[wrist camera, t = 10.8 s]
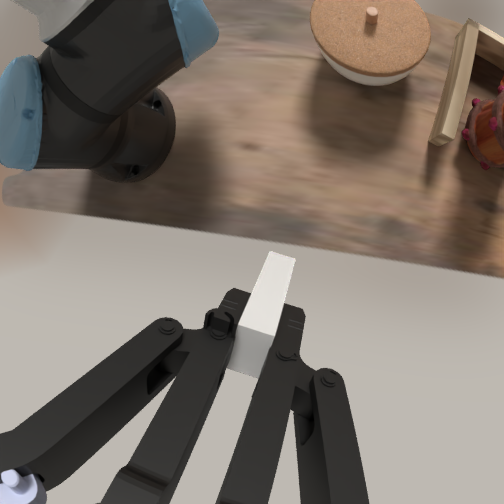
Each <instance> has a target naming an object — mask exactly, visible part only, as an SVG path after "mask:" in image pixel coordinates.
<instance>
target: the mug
mask: <svg viewBox="0 0 504 504" xmlns="http://www.w3.org/2000/svg"><path fill="white" fill-rule="evenodd" d="M472 106H473V108H472V110H471V111H470V113H469V115H468V118H467V122H466V127H465V129H464V130H463V131H462V136H463V137H464V138H465V139H466V140H467V145H468V147H469V149H470V151H471V153H472V155H473V156H474V157H475V158H476V159H477V160H478V161H480V162H481V167H482V168H483V169H485V170H487V169H488V168H489V167H497V168H502V167H504V76H503V78H502V80H501V82H500V86H499V87H498V96H497V97H496V99H488V100H484V101H480V100H479V99H477V98H475V99H473V100H472Z"/></svg>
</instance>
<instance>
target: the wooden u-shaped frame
mask: <svg viewBox="0 0 504 504" xmlns="http://www.w3.org/2000/svg"><path fill="white" fill-rule="evenodd" d="M475 54H477V55H478V56H480V57H482V58H484V59H485V60H487V61H489V62H490V63H492V64H494V65H495V66H497V67H498V68H500V69H502V70H503V71H504V38H502V37H501V36H499V35H497V34H496V33H494V32H492V31H491V30H489V29H487V28H486V27H484V26H482V25H480V24H478V23H476V22H475V21H473V20H471V19H469V18H468V20H467V21H466V23H465V24H464V26H463V27H462V29H461V30H460V32H459V33H458V35H457V36H456V39H455V44H454V48H453V53H452V57H451V62H450V66H449V70H448V74H447V78H446V82H445V86H444V90H443V93H442V97H441V101H440V104H439V108H438V111H437V115H436V118H435V121H434V125H433V128H432V131H431V134H430V137H429V140H428V141H429V142H431V143H433V144H435V145H437V146H438V147H439V146H441V145H443V144H445V143H448V142H450V141H452V140H454V138H455V134H456V131H457V127H458V124H459V120H460V117H461V113H462V109H463V105H464V101H465V97H466V93H467V89H468V85H469V80H470V75H471V71H472V66H473V61H474V55H475Z"/></svg>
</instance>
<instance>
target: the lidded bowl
mask: <svg viewBox="0 0 504 504" xmlns="http://www.w3.org/2000/svg"><path fill="white" fill-rule="evenodd" d="M310 24H311V30H312V33H313V35H314V38H315V40H316V42H317V45H318V47H319V49H320V51H321V53H322V55H323V56H324V58H325V59H326V61H327V62H328V63H329V64H330V65H331V66H332V67H333V68H334V69H335V70H336V71H337V72H338V73H340V74H341V75H342V76H344V77H346V78H348V79H349V80H352V81H354V82H357V83H360V84H364V85H371V86H382V85H388V84H391V83H395V82H397V81H399V80H401V79H403V78H404V77H406V76H407V75H408V74H410V73H411V72H412V71H413V70H414V69H415V68H416V66H417V65H418V64H419V62H420V61H421V60H422V59H423V58H424V56H425V54H426V52H427V51H428V48H429V45H430V39H431V32H430V26H429V23H428V20H427V17H426V15H425V13H424V12H423V10H422V9H421V7H420V6H419V5H418V4H417V3H416V2H415V1H414V0H315V1H314V3H313V5H312V8H311V12H310Z"/></svg>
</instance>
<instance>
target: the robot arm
mask: <svg viewBox="0 0 504 504" xmlns="http://www.w3.org/2000/svg"><path fill="white" fill-rule="evenodd" d="M11 1H13V2H15V3H16V4H18V5H20V6H21V7H23V8H24V9H26V10H28V11H29V12H31V13H32V14H34V15H35V16H37V19H38V22H39V39H40V40H41V41H42V42H44V43H45V44H47V45H49V46H48V47H47V48H46V50H45V51H44V52H43V53H42V54H41V55H40V56H39V57H38V58H34V56H32V55H27V56H21V57H17V58H15V59H14V60H12V61H11V62H10V64H9V65H8V66H7V67H6V69H5V70H4V72H3V74H2V75H1V77H0V163H1V164H2V165H4V166H6V167H8V168H16V169H24V170H26V171H30V170H32V169H90V170H91V171H93V172H95V173H97V174H99V175H101V176H102V177H104V178H106V179H108V180H111V181H115V182H135V181H139V180H142V179H144V178H146V177H148V176H149V175H151V174H152V173H153V172H154V171H155V170H156V169H158V167H159V166H160V165H161V164H162V163H163V161H164V160H165V158H166V156H167V155H168V153H169V151H170V148H171V146H172V143H173V139H174V134H175V114H174V110H173V106H172V104H171V102H170V100H169V99H168V97H167V96H166V95H165V93H164V92H162V91H161V90H160V89H158V88H156V87H157V86H158V85H160V84H161V83H162V82H164V81H165V80H167V79H168V78H169V77H171V76H172V75H173V74H175V73H176V72H178V71H179V70H180V69H182V68H183V67H185V68H187V67H189V66H190V64H191V62H192V61H194V60H195V59H196V58H198V57H199V56H201V55H202V54H203V53H205V52H206V51H208V50H209V49H211V48H212V47H213V46H214V45H215V44H216V42H217V40H218V36H219V30H218V27H217V25H216V23H215V21H214V19H213V18H212V16H211V14H210V13H209V11H208V9H207V8H206V6H205V4H204V2H203V1H202V0H11ZM295 260H296V259H294V258H291V257H287V256H284V255H281V254H278V253H275V252H272V251H270V252H269V254H268V257H267V259H266V261H265V264H264V266H263V268H262V271H261V273H260V276H259V278H258V280H257V282H256V285H255V287H254V289H253V291H252V294H251V293H248V292H245V291H242V290H239V289H236V288H233V289H231V290H230V291H228V292H227V293H226V295H225V297H224V298H223V300H222V302H221V304H220V306H219V307H218V308H215V309H212V310H209V311H208V312H207V313H206V315H205V321H204V327H203V328H202V329H197V330H191V329H183V327H182V325H181V323H179V322H178V321H177V320H175V319H173V318H167V317H165V318H160V319H157V320H155V321H154V322H153V323H151V324H150V325H149V326H147V327H146V328H145V329H143V330H142V331H141V332H140V333H138V334H137V335H136V336H134V337H133V338H132V339H131V340H129V341H128V342H127V343H125V344H124V345H123V346H121V347H120V348H119V349H117V350H116V351H115V352H113V353H112V354H111V355H110V356H108V357H107V358H106V359H104V360H103V361H102V362H100V363H99V364H98V365H96V366H95V367H94V368H93V369H91V370H90V371H89V372H87V373H86V374H85V375H83V376H82V377H81V378H80V379H78V380H77V381H76V382H74V383H73V384H72V385H70V386H69V387H68V388H67V389H65V390H64V391H63V392H61V393H60V394H59V395H58V396H56V397H55V398H54V399H52V400H51V401H50V402H48V403H47V404H46V405H45V406H43V407H42V408H41V409H39V410H38V411H37V412H35V413H34V414H33V415H32V416H30V417H29V418H28V419H26V420H25V421H24V422H23V423H21V424H20V425H19V426H17V427H16V428H15V429H13V430H12V431H8V432H5V433H1V434H0V504H46V501H47V494H46V491H49V490H51V489H52V488H54V487H56V486H58V485H59V484H61V483H62V482H63V481H65V480H66V479H67V478H68V477H70V476H71V475H72V474H73V473H74V472H75V471H76V470H78V469H79V468H80V467H81V466H82V465H83V464H84V463H85V462H86V461H87V460H88V459H90V458H91V457H92V456H93V455H94V454H95V453H96V452H97V451H98V450H99V449H100V448H102V446H104V445H105V444H106V443H107V442H108V441H109V440H110V439H111V438H112V437H113V436H114V435H115V434H116V433H117V432H119V431H120V430H121V429H122V428H123V427H124V426H125V425H126V424H127V423H128V422H129V421H130V420H131V419H132V418H133V417H134V416H136V415H137V414H138V413H139V412H140V411H141V410H142V409H143V408H144V407H145V406H146V405H147V404H148V403H149V402H150V401H151V400H152V399H153V398H154V397H155V396H156V395H157V394H158V393H159V392H160V391H161V390H162V389H164V387H166V386H167V384H168V383H170V382H171V381H172V380H173V379H174V378H175V377H176V378H175V380H174V382H173V384H172V385H171V387H170V389H169V391H168V392H167V394H166V396H165V398H164V400H163V401H162V403H161V405H160V407H159V409H158V410H157V412H156V414H155V416H154V418H153V419H152V421H151V423H150V425H149V427H148V428H147V430H146V432H145V434H144V436H143V437H142V439H141V441H140V443H139V445H138V446H137V448H136V450H135V452H134V454H133V456H132V457H131V459H130V461H129V463H128V464H127V465H126V466H124V467H123V468H121V469H120V470H119V472H118V473H117V474H116V476H115V478H114V480H113V481H112V483H111V485H110V487H109V488H108V490H107V492H106V494H105V496H104V498H103V499H102V501H101V503H97V504H169V503H170V501H171V499H172V496H173V494H174V491H175V490H176V487H177V485H178V483H179V480H180V478H181V476H182V474H183V471H184V469H185V467H186V464H187V462H188V459H189V458H190V455H191V453H192V450H193V448H194V446H195V444H196V441H197V439H198V437H199V434H200V432H201V430H202V427H203V425H204V422H205V420H206V418H207V416H208V413H209V411H210V408H211V406H212V404H213V401H214V399H215V397H216V394H217V392H218V389H219V387H220V385H221V382H222V380H223V377H224V374H225V370H226V368H228V369H231V370H234V371H237V372H240V373H243V374H247V375H249V376H253V377H256V378H259V379H258V382H257V384H256V387H255V389H254V392H253V395H252V400H251V403H250V406H249V409H248V411H247V415H246V418H245V421H244V424H243V427H242V430H241V432H240V435H239V438H238V441H237V444H236V447H235V450H234V453H233V456H232V459H231V462H230V464H229V467H228V470H227V473H226V476H225V479H224V481H223V484H222V487H221V490H220V492H219V495H218V498H217V501H216V503H215V504H268V501H269V497H270V493H271V489H272V485H273V482H274V478H275V474H276V469H277V465H278V461H279V457H280V453H281V449H282V444H283V440H284V436H285V431H286V427H287V422H288V417H289V413H290V409H291V410H292V411H294V413H293V414H294V425H295V437H296V448H297V461H298V472H299V486H300V499H301V504H369V499H368V494H367V488H366V483H365V477H364V472H363V467H362V462H361V457H360V452H359V447H358V442H357V437H356V432H355V428H354V423H353V419H352V414H351V410H350V405H349V401H348V397H347V393H346V388H345V384H344V380H343V378H342V376H341V375H340V374H339V373H338V372H336V371H334V370H333V369H328V368H321V369H319V370H317V371H315V370H314V369H312V368H310V367H309V366H307V365H306V364H305V363H304V362H303V361H302V359H301V357H300V354H299V351H300V345H301V340H302V333H303V329H304V323H305V317H306V316H305V314H304V311H303V309H301V308H298V307H295V306H291V305H288V304H285V303H284V302H285V298H286V294H287V290H288V286H289V283H290V279H291V275H292V271H293V268H294V263H295Z"/></svg>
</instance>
